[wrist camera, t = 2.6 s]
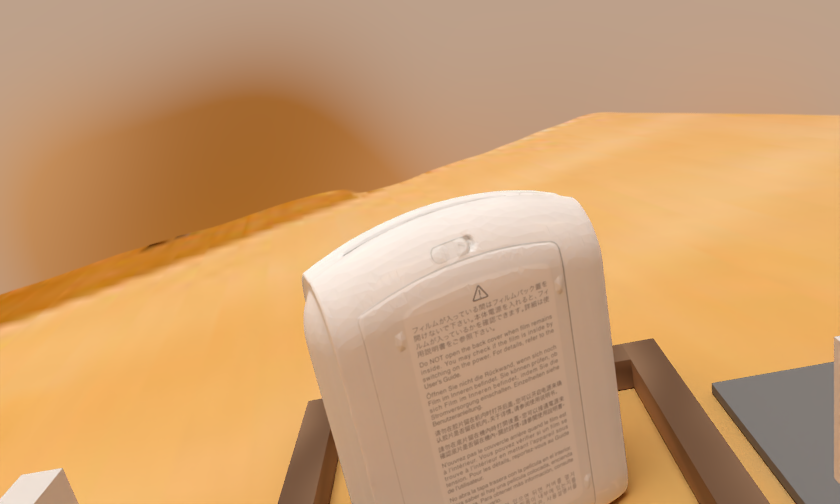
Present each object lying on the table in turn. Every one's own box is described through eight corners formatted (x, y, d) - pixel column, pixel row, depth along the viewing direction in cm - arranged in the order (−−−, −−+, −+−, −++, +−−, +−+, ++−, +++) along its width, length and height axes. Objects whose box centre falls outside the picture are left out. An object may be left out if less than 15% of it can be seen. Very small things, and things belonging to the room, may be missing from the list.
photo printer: (582, 438, 29) (539, 156, 25) (651, 495, 25) (612, 171, 21) (357, 542, 26) (265, 241, 22) (394, 625, 22) (291, 276, 18)
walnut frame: (656, 365, 33) (653, 338, 32) (879, 705, 17) (880, 660, 16) (316, 426, 34) (308, 401, 33) (218, 796, 18) (200, 758, 17)
